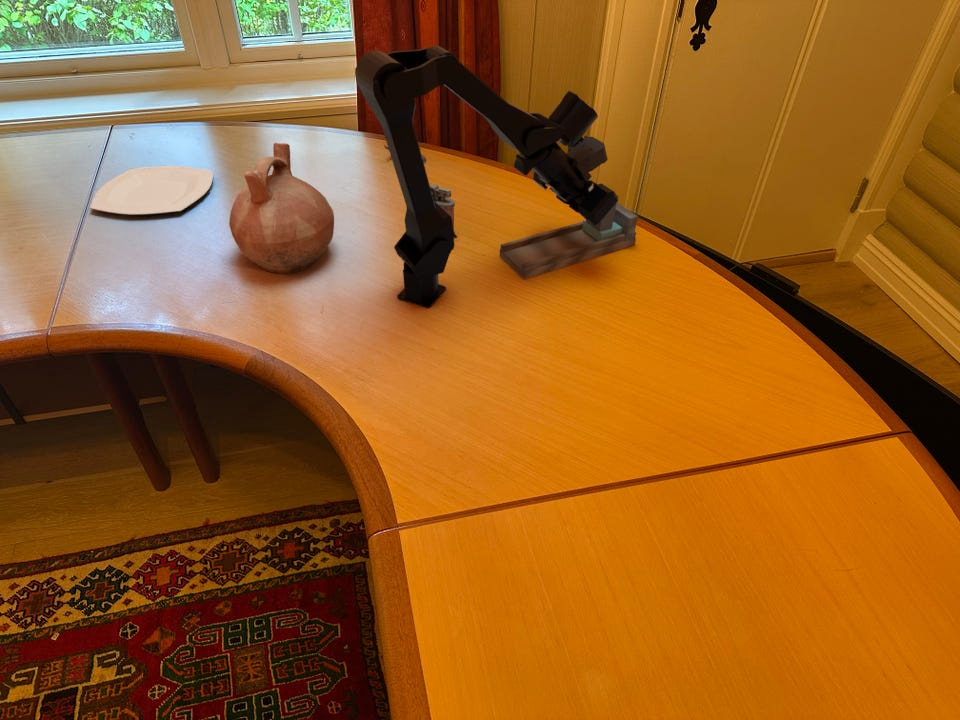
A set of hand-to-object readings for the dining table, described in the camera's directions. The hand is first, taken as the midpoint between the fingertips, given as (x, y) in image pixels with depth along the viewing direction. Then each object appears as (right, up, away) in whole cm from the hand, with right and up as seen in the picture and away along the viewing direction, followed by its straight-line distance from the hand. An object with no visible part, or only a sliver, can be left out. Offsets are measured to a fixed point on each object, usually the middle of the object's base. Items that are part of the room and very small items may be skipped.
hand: (594, 210), depth 115 cm
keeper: (+2, -3, +5) cm, 6 cm away
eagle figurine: (-40, +20, +33) cm, 56 cm away
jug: (-58, -9, 0) cm, 59 cm away
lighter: (-31, -3, +7) cm, 32 cm away
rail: (-5, -7, +3) cm, 10 cm away
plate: (-93, +7, +17) cm, 94 cm away
